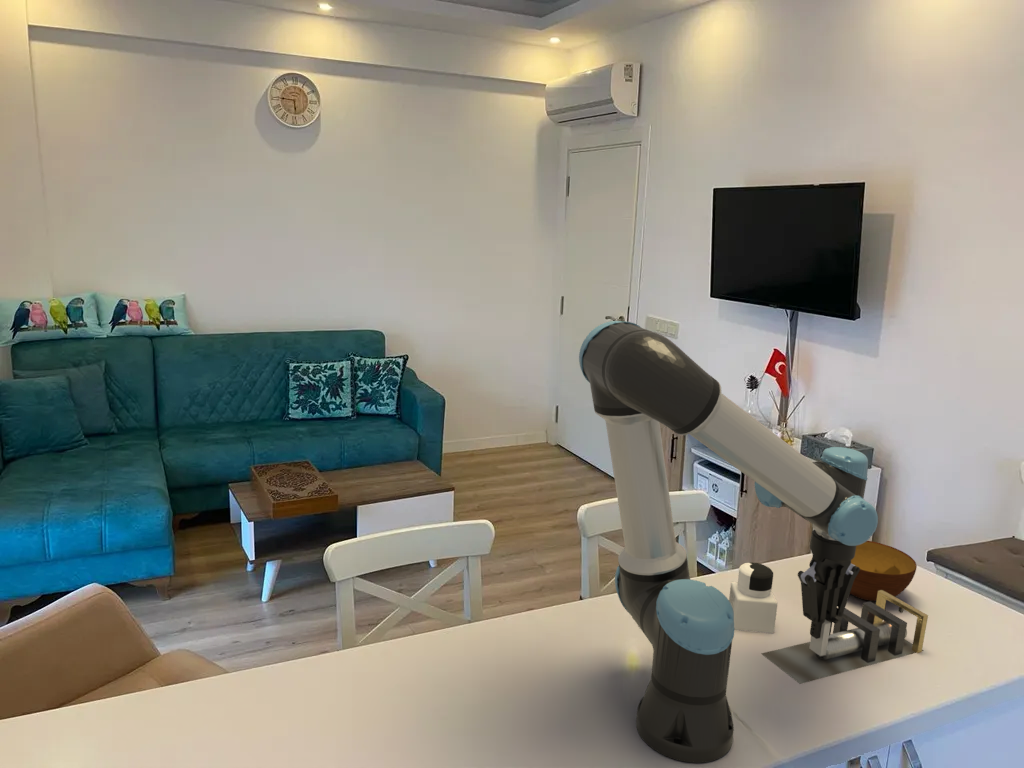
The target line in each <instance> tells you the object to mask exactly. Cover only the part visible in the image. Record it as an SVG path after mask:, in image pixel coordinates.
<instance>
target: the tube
mask: <svg viewBox="0 0 1024 768" xmlns="http://www.w3.org/2000/svg"><path fill="white" fill-rule="evenodd" d="M872 625H874V626H876V627H877V628H879V629H880V634H879V640H878V646H881V645H884V644H888V643H889V641H890V635H891V629H892V625H891V624H889V623H887V622H886V621H884V620H883V622H880V623H875V624H872ZM864 635H865V632H864V631H863V630H861V629H859V628H858V627H855V628H850V629H847V631H843V632H838V633H834V634H833V633H831V634H830V636H829V638H828V645H827V651H826V655H823V656H819V655H818V654H817V653H815V654H816V655H817V657H818V658H820V659H821V660H827V659H830V658H834V657H838V656H842V655H846V654H850V653H854V652H857V651H861V650H862V648H863V641H864ZM907 637H908V631H907V628H906V633H905V639H906V638H907Z"/></svg>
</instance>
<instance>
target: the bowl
mask: <svg viewBox="0 0 1024 768" xmlns="http://www.w3.org/2000/svg"><path fill="white" fill-rule="evenodd" d="M851 564H853V565H855V566H857V567H859V568H860V571H859V573H858V575H857V576H856V578H855V579H854V582H853V585H852V588H851V591H850V594H849V595H852V596H854V597H856V598H857V599H861V600H865V601H867V602H870V601H871V602H876V600H877V594H878V591H880V590H883V591H885V592H887V593H889V594H891V595H892V596H894V597H896V598H897V596H899V595H900V594H901V593H903V591H905V590H906V589H907V588H908V587H909V585H910V584H911V582H912V581H913V579H914V577H915V574H916V572H917V567H918V566H917V562H916V561H915V559H914V558H912V556H910V555H909V554H908V553H906V552H904V551H902V550H900V549H898V548H896V547H893V546H892V545H891V546H890V545H887V544H884V543H881V542H877V541H871V540H867V541H866V542H864V543H863V544H860V545H856V551H855V557H854V558H853V559H852V560H851Z"/></svg>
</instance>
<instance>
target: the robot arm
mask: <svg viewBox="0 0 1024 768" xmlns="http://www.w3.org/2000/svg"><path fill="white" fill-rule="evenodd" d="M578 362H579V364H578V365H579V367H580V371H581V373H582V375H583V377H584V378H585V380H586V381H587V382H588V383H589V386H590V391H591V398H592V399H591V400H592V404H593V409H594V412H595V414H596V415H597V416H599V417H601V418H602V419H603V420H604V421H605V426H606V427H605V428H606V433H607V439H608V447H609V453H610V459H611V464H612V470H613V471H612V472H613V478H614V479H613V480H614V485H615V491H616V498H617V504H618V505H617V506H618V511H619V517H620V524H621V529H622V535H623V536H622V537H623V543H624V547H623V549H622V550H621V551H620V553H619V554H618V557H617V562H618V566H617V567H616V570H615V573H614V576H615V577H614V585H615V592H616V594H617V596H618V599H619V601H620V603H621V605H622V607H623V608H624V610H626V612H628V613H629V615H630V617H632V619H633V620H634V622H635V623H636V625H637V626H638V627H639V629H640V630H641V631H642V633H643V634H644V635H645V637H646V639H647V640H648V641H649V643H650V644H651V646H652V651H653V653H652V662H651V663H652V664H651V676H650V680H649V682H648V685H647V687H646V689H645V693H644V695H643V696H642V697H641V699H640V700H639V703H638V706H637V711H636V720H635V722H636V723H635V725H636V730H637V732H638V734H639V736H640V738H641V739H642V740H643V741H644V742H645V743H646V744H647V745H648V746H649V747H651V749H653V750H654V751H656V752H658V753H659V754H661V755H664V757H668V758H671V759H673V760H676V761H681V762H685V763H695V764H697V763H699V764H700V763H701V764H702V763H708V762H712V761H715V760H719V759H720V758H722V757H724V756H725V755H727V754H728V752H729V751H730V750H731V747H732V745H733V739H734V731H735V730H734V729H735V728H734V721H733V718H732V713H731V709H730V706H729V700H728V697H727V687H728V679H729V671H730V663H731V662H730V661H731V656H732V645H733V639H734V636H735V629H734V611H733V608H732V605H731V603H730V602H729V598H728V597H727V596H726V595H725V594H724V593H723V592H722V591H721V590H720V589H717V588H716V587H714V586H713V585H709V586H708V585H706V583H705V582H703V581H701V580H700V581H699V580H697V579H696V580H694V579H691V577H690V572H689V571H690V569H689V561H688V556H687V550H686V549H685V547H684V546H683V545H682V544H680V543H679V542H677V541H676V534H675V528H674V519H673V512H672V507H671V506H672V505H671V498H670V490H669V489H670V488H669V481H668V475H667V469H666V461H665V459H666V458H665V454H664V446H663V438H662V431H661V424H662V425H663V426H664V427H666V428H668V429H669V430H671V431H672V432H674V433H676V434H677V435H679V436H687V435H690V436H691V437H692V438H694V439H695V440H697V441H698V442H700V443H701V444H702V445H703V446H705V447H707V448H708V450H711V451H712V452H714V454H716V455H717V456H719V457H720V458H721V459H723V460H724V461H726V462H728V463H729V465H731V466H733V468H736V469H737V470H738V471H740V472H741V473H743V475H744V476H746V477H748V478H749V479H750V480H752V481H754V491H755V495H756V498H757V499H758V500H759V502H760V503H761V505H763V506H765V507H766V508H767V507H768V508H777V509H780V508H782V507H783V508H787V509H789V510H791V512H793V513H795V514H796V515H798V516H799V517H801V518H802V519H804V520H806V521H807V522H809V523H810V524H812V528H813V530H812V531H811V536H810V545H809V547H810V548H809V549H810V551H811V554H812V556H811V559H810V562H809V567H808V568H807V569H806V570H805V571H803V570H800V571H798V572H797V577H798V580H799V581H800V589H801V600H802V601H801V603H802V604H801V605H802V615H803V616H804V617H805V618H807V619H808V620H810V621H811V622H810V623H811V624H810V629H809V634H810V641H809V642H810V648H809V649H811V650H812V651H814V652H815V653H817V654H818V655H819V656H823V655H826V651H827V645H828V638H829V636H830V634H832V627H833V624H834V623H835V624H836V623H837V622H838V619H836V618H835V617H837V616H839V617H841V616H842V615H843V612H844V609H845V608H846V606H847V604H848V600H849V597H850V595H851V594H850V591H851V588H852V585H853V582H854V579H855V578H856V576H857V575H858V573H859V571H860V568H859V567H857V566H855V565H853V564H851V560H852V559H853V558H854V557H855V551H856V545H860V544H863V543H864V542H866V541H870V538H871V537H872V536H873V535H874V533H875V532H876V531H877V527H878V524H879V516H878V512H877V510H876V507H875V506H874V505H872V504H871V503H870V502H868V501H867V500H865V499H864V497H865V492H866V485H867V481H868V472H869V471H868V468H869V467H868V466H869V459H868V457H867V456H866V454H864V453H863V452H861V451H859V450H858V449H853V448H849V447H843V446H842V447H841V446H830V447H827V448H825V449H824V450H823V451H822V456H821V457H820V460H819V461H811V460H810V459H808V457H806V456H805V455H803V454H802V453H801V452H799V451H798V450H796V449H795V448H794V447H793V446H792V445H790V444H789V443H787V442H786V441H785V440H784V439H782V438H781V437H780V436H779V435H777V434H776V433H775V432H773V431H772V430H770V428H768V427H766V426H765V425H764V424H762V423H761V422H760V421H759V420H757V418H755V417H754V416H752V415H751V414H749V412H747V411H746V410H744V409H743V408H742V407H741V406H739V405H737V404H736V403H735V402H734V401H733V400H731V399H729V398H728V397H727V396H726V395H724V393H722V386H721V384H720V382H719V381H718V380H717V379H716V378H714V377H713V376H712V375H711V374H709V373H708V372H707V371H706V370H704V369H703V368H702V367H701V366H700V365H698V363H697V362H695V360H693V359H692V358H691V357H690V356H688V354H686V353H685V352H684V351H683V350H682V348H680V347H679V346H677V345H676V344H675V343H674V342H673V341H671V340H670V339H669V338H667V337H665V336H664V335H662V334H661V333H657V332H654V331H651V330H648V329H645V328H644V327H641V326H640V325H638V324H637V323H634V322H631V321H621V320H613V321H611V320H610V321H606V322H604V323H602V324H601V323H600V325H598V326H595V328H593V329H592V330H590V332H589V333H588V334H587V336H586V337H585V338H584V339H583V341H582V344H581V346H580V349H579V354H578Z"/></svg>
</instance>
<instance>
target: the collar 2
mask: <svg viewBox="0 0 1024 768" xmlns="http://www.w3.org/2000/svg"><path fill="white" fill-rule="evenodd" d="M875 616H877V617H879V618H880V619H882V620H883V621H886V622H887V623H889V624H891V625H892V629H891V635H890V641H889V647H888V652H890V653H891V654H893V655H894V656H895V655H899V654H902V651H903V645H904V639H905V640H906V638H905V633H906V629H907V627H908V622H907V621H905V620H903V619H902V618H900V617H898V616H896V615H894V614H893V613H891V612H890V611H888V610H886V609H885V610H884V609H883V608H881V607H879V606H877V605H876V603H874V602H873V601H867V602H862V607H861V613H860V617H861V618H862V619H864V620H866V621H867V622H869V623H871V624H874V618H875Z"/></svg>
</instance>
